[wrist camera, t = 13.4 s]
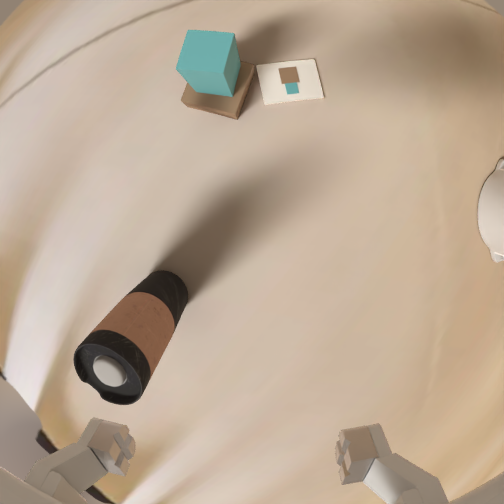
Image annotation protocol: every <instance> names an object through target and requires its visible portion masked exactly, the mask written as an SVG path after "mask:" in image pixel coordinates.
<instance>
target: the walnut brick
mask: <svg viewBox="0 0 504 504" xmlns="http://www.w3.org/2000/svg"><path fill="white" fill-rule="evenodd" d="M240 64H241V66H240V69H239V73H238V77H237V81H236V85H235V90H234V94H233V97H229V96H222V95H215V94H207V93H199V92H196V91H195V90H194V89H193V88H192V87H191V86H190V84H189V83H187V85H186V88H185V91H184V93H183V96H182V98H181V101H182V102H183V103H184V104H185V105H186V106H187V107H190V108H194V109H198V110H203V111H207V112H211V113H215V114H218V115H222V116H226V117H229V118H233V119H237V120H238V117H239V114H240V111H241V109H242V106H243V103H244V100H245V98H246V95H247V92H248V90H249V87H250V84H251V82H252V79H253V76H254V64H250V63H246V62H243V61H240Z"/></svg>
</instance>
